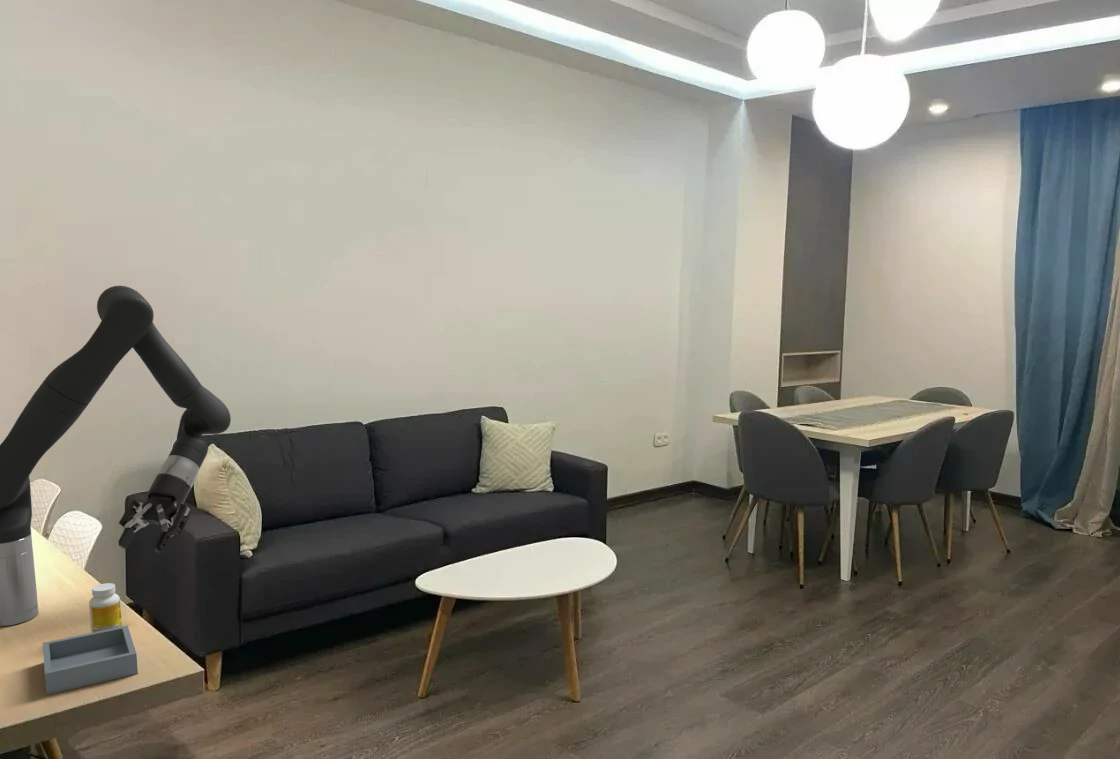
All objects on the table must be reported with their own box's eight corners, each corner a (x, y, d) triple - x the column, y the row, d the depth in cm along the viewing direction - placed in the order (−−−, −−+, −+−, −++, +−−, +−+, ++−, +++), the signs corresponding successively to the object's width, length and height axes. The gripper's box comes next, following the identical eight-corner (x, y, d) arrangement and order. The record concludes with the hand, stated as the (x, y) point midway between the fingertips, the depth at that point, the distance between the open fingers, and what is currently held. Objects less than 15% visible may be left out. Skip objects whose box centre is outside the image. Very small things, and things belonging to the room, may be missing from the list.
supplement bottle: (87, 633, 170) (83, 587, 168) (116, 624, 174) (112, 579, 172) (97, 641, 166) (93, 594, 165) (126, 632, 170) (123, 586, 169)
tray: (46, 694, 146) (44, 673, 145) (44, 662, 158) (42, 642, 157) (137, 673, 153) (136, 653, 153) (129, 644, 165) (127, 625, 164)
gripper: (137, 470, 186) (100, 537, 176) (193, 474, 182) (158, 543, 172) (156, 487, 191) (121, 554, 182) (211, 492, 188) (178, 560, 178)
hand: (139, 549), depth 177 cm, fingers open, 8 cm apart
